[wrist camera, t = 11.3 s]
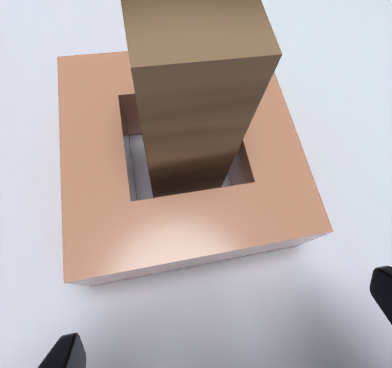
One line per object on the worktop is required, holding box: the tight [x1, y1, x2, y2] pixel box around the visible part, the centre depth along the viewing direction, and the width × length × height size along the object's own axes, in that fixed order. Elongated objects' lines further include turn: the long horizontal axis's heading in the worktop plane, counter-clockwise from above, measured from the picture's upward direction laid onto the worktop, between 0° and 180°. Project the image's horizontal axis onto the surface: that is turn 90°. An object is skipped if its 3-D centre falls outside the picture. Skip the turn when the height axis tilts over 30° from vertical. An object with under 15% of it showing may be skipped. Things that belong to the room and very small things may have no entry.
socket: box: [57, 51, 333, 286], centre depth 16 cm, size 12×12×4 cm
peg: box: [121, 0, 282, 198], centre depth 13 cm, size 4×4×11 cm
